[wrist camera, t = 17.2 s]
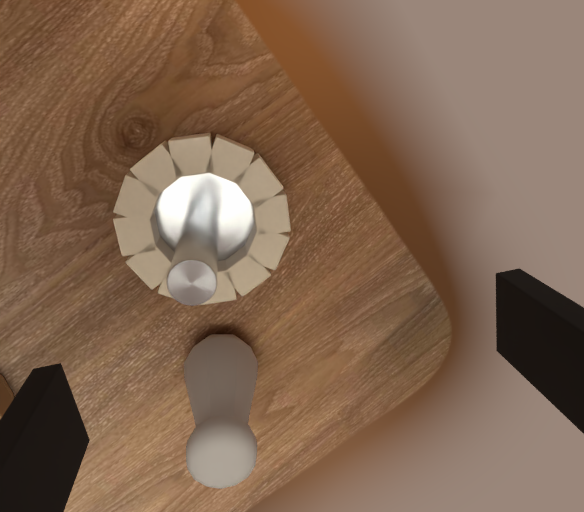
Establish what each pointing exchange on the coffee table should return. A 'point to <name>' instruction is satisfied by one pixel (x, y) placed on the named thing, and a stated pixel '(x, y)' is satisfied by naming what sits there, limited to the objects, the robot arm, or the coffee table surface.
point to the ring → (192, 161)
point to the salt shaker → (221, 410)
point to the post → (201, 232)
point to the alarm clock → (5, 396)
